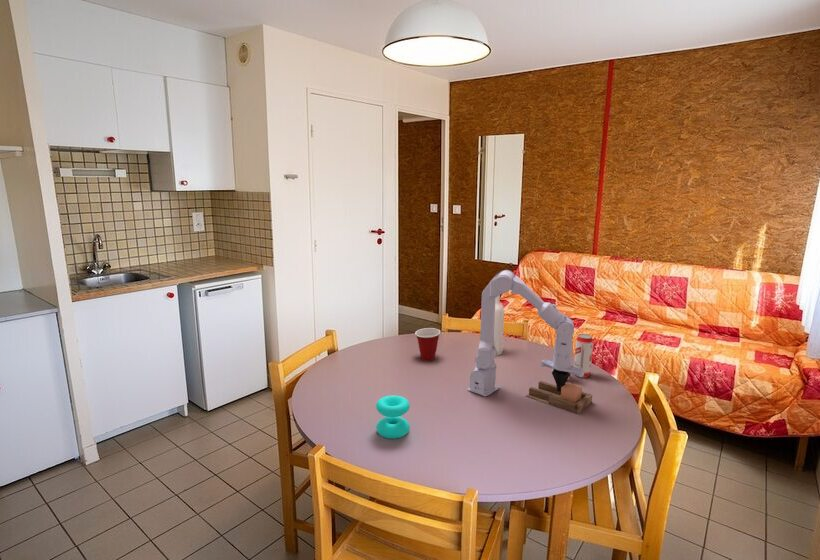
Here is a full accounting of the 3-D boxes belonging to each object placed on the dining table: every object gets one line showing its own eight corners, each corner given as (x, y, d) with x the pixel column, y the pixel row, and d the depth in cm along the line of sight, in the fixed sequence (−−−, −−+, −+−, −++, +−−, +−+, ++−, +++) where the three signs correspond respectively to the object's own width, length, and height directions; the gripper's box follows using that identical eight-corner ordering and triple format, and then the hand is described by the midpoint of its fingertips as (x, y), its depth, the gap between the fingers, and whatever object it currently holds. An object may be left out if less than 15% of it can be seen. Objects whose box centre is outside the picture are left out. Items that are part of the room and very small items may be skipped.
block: (574, 406, 157) (575, 391, 156) (560, 402, 161) (561, 387, 160) (580, 401, 161) (581, 386, 160) (566, 397, 164) (567, 382, 163)
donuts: (394, 412, 134) (369, 402, 140) (394, 444, 136) (369, 432, 142) (416, 400, 141) (391, 390, 148) (416, 430, 143) (391, 420, 150)
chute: (578, 414, 154) (579, 406, 153) (525, 396, 166) (526, 388, 166) (591, 402, 162) (592, 394, 161) (540, 386, 174) (540, 379, 174)
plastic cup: (410, 355, 204) (410, 329, 202) (432, 352, 209) (433, 326, 206) (421, 364, 195) (421, 336, 192) (444, 360, 199) (445, 333, 197)
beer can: (587, 372, 187) (591, 333, 184) (592, 378, 181) (595, 339, 178) (571, 371, 188) (574, 333, 184) (575, 378, 182) (578, 338, 178)
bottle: (505, 351, 210) (508, 285, 204) (498, 356, 203) (501, 289, 197) (488, 348, 214) (490, 283, 208) (481, 353, 207) (483, 286, 201)
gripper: (588, 355, 158) (585, 393, 161) (548, 345, 168) (546, 381, 171) (580, 361, 153) (577, 400, 156) (539, 350, 163) (536, 387, 165)
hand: (560, 390), depth 163 cm, fingers closed
